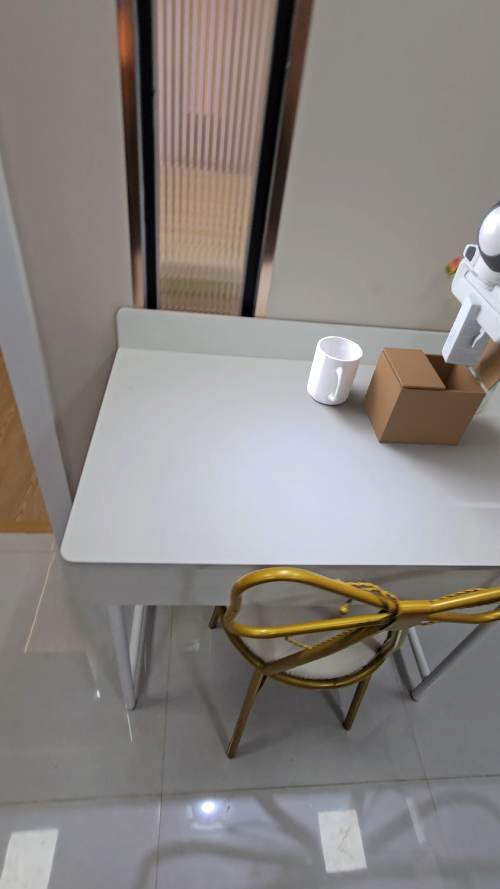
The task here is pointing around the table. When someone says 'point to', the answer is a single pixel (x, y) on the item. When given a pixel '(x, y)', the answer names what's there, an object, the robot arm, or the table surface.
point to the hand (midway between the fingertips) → (468, 339)
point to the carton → (421, 398)
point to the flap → (489, 365)
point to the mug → (333, 370)
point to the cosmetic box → (464, 336)
